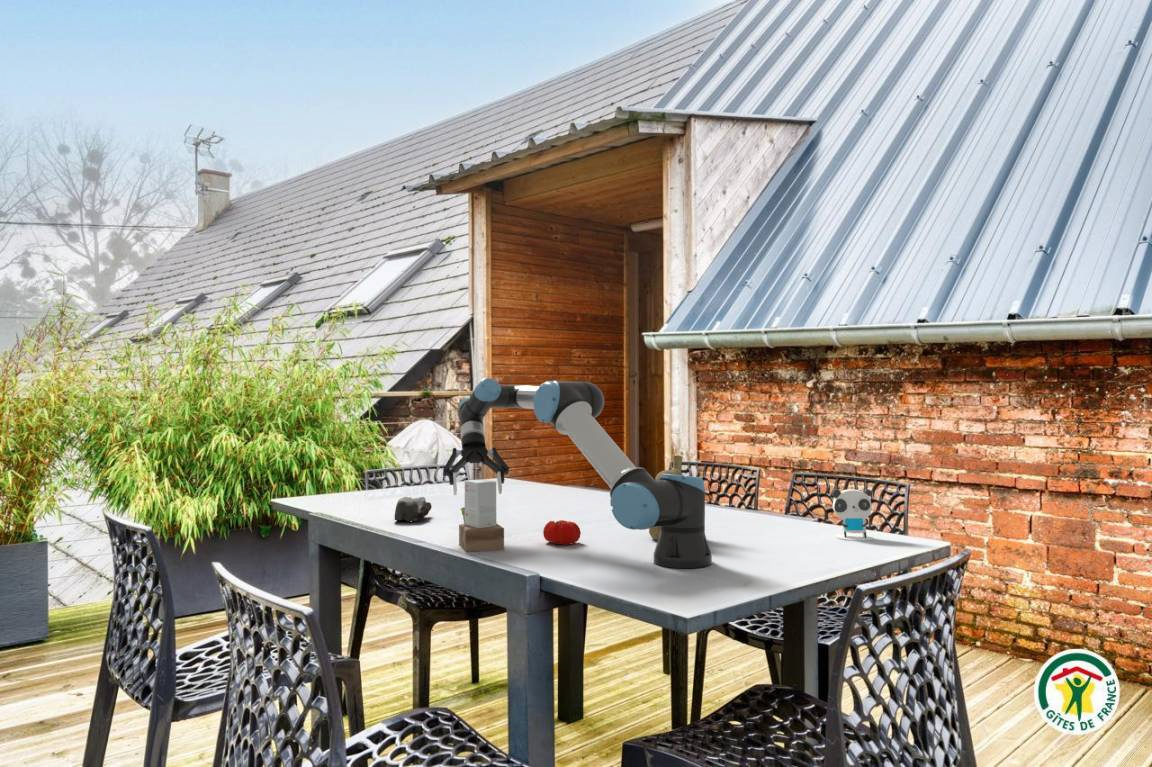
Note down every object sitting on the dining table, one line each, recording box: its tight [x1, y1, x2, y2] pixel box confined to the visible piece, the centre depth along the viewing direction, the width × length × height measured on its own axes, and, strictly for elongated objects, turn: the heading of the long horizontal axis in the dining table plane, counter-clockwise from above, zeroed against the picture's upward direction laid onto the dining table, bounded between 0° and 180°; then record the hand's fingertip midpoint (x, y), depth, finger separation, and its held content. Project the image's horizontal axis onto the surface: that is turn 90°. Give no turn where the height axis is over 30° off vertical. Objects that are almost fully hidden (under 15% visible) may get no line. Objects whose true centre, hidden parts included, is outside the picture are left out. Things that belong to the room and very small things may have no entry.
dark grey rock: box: [394, 496, 432, 522], centre depth 288 cm, size 18×11×8 cm, turn 2°
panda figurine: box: [830, 488, 874, 542], centre depth 252 cm, size 12×11×15 cm
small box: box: [463, 479, 497, 528], centre depth 237 cm, size 8×6×13 cm
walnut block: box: [458, 522, 505, 553], centre depth 237 cm, size 11×11×6 cm
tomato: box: [542, 519, 581, 546], centre depth 243 cm, size 10×11×6 cm
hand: (478, 491), depth 246 cm, fingers open, 13 cm apart
